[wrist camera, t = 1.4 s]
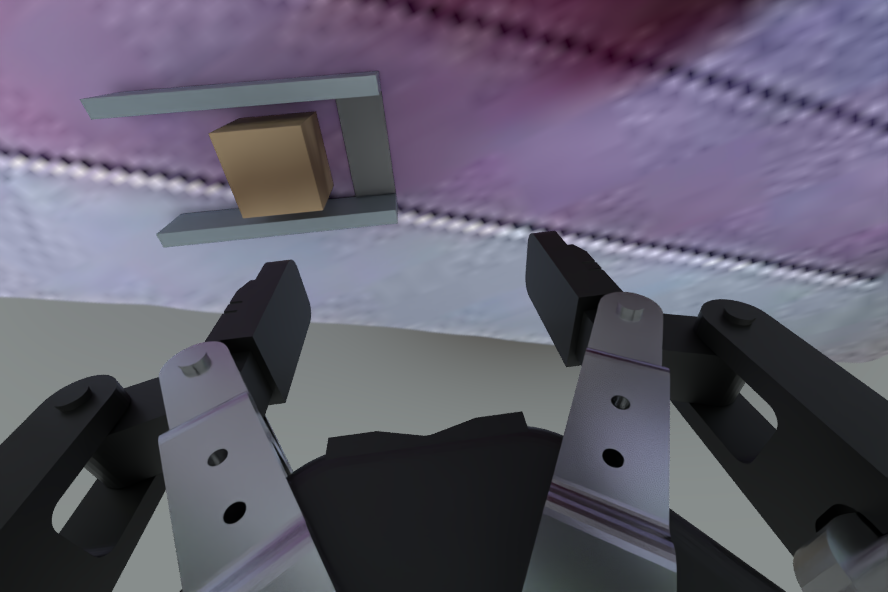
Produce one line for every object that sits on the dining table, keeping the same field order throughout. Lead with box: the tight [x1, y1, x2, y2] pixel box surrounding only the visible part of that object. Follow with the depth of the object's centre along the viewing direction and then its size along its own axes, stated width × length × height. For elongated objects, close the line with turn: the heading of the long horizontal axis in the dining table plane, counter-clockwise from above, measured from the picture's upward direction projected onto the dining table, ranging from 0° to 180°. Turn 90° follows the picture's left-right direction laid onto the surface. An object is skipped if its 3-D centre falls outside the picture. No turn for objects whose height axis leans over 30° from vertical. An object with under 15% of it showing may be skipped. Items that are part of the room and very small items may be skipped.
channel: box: [80, 71, 398, 247], centre depth 24 cm, size 9×16×4 cm, turn 94°
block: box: [209, 111, 334, 218], centre depth 24 cm, size 5×5×5 cm
